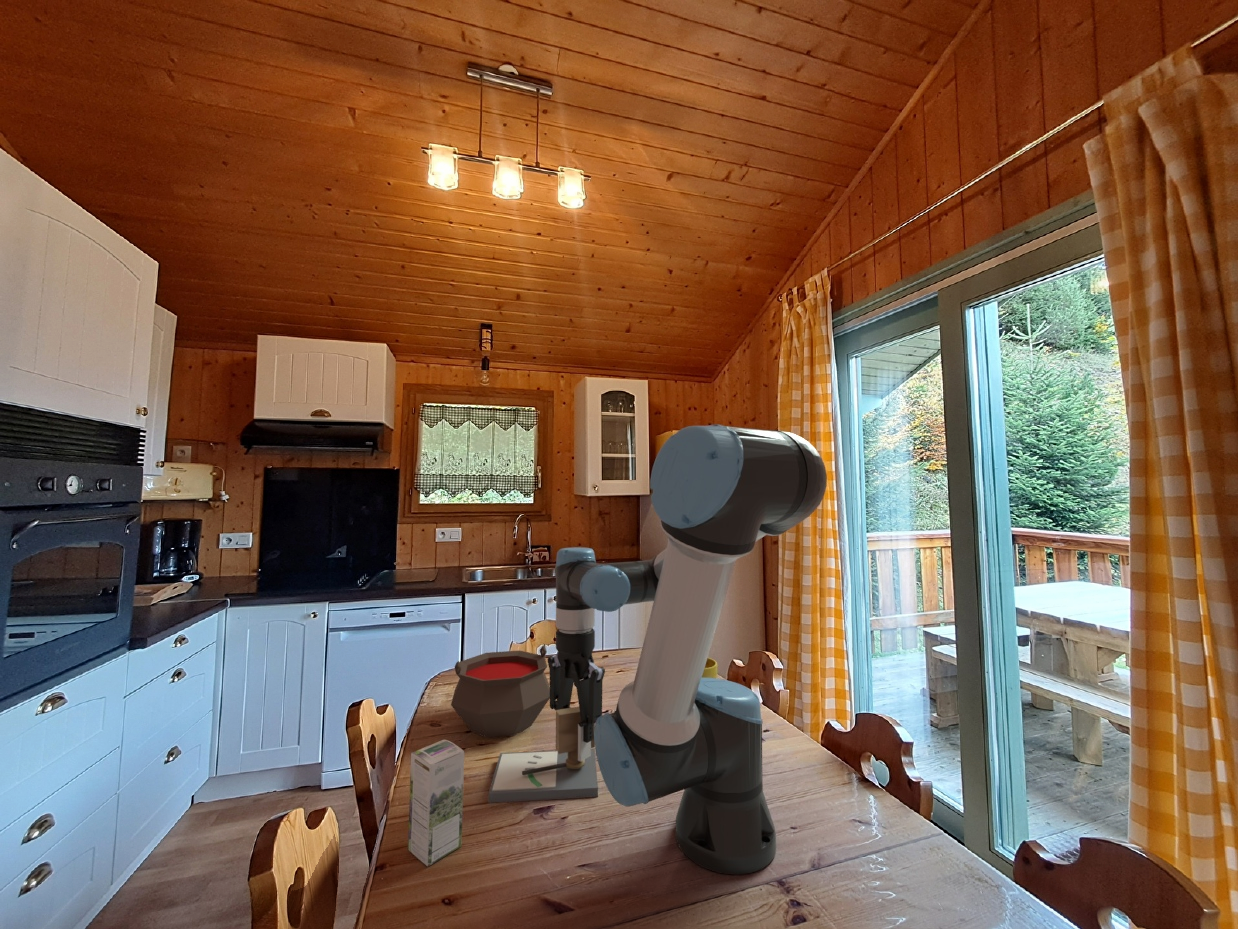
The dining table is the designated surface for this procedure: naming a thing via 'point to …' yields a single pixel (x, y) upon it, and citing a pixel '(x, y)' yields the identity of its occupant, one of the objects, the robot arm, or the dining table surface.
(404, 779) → the dining table surface
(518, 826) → the dining table surface
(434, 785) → the syrup box
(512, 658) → the brown soup pot
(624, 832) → the dining table surface
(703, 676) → the plant pot
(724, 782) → the robot arm
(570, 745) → the wooden pointer lever
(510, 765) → the tuner board
